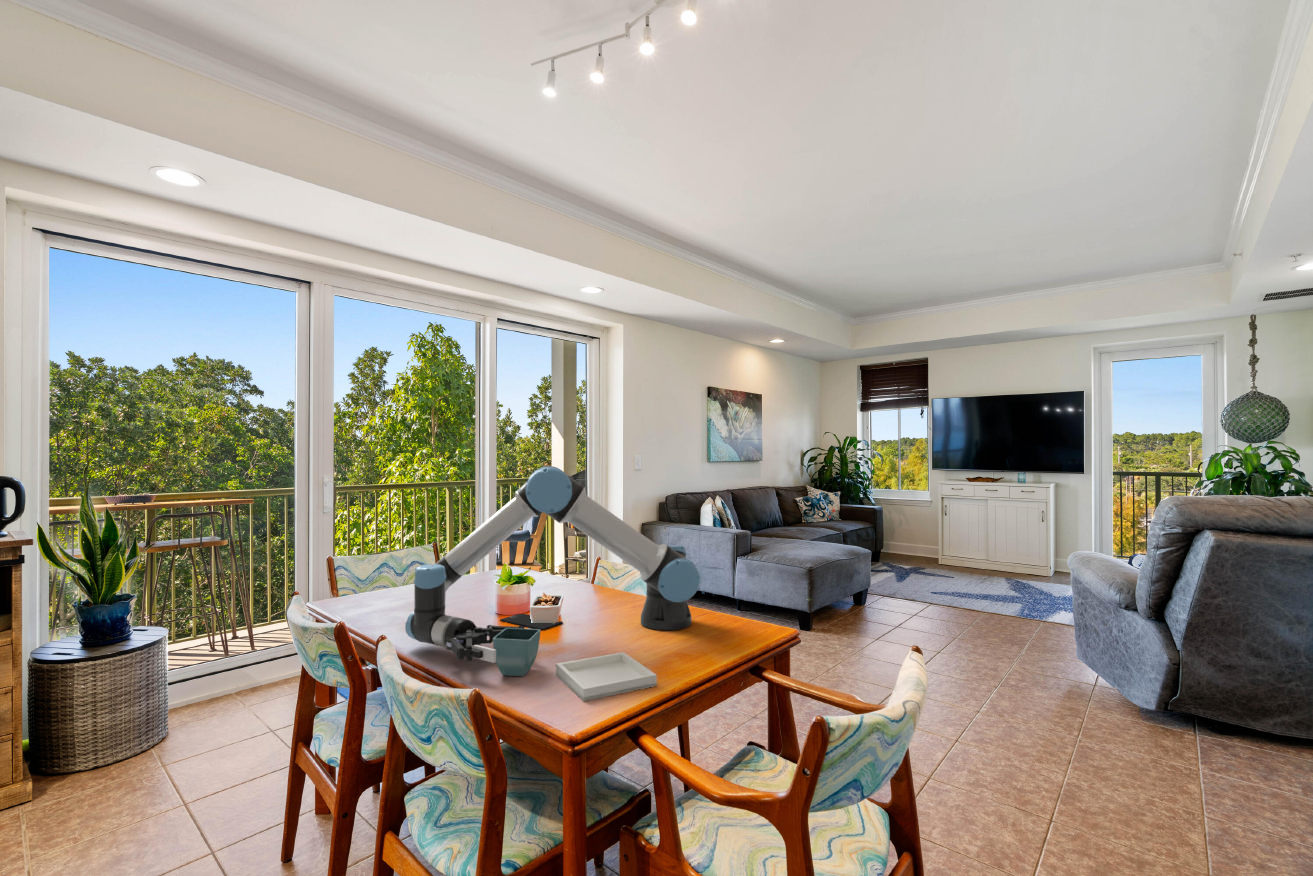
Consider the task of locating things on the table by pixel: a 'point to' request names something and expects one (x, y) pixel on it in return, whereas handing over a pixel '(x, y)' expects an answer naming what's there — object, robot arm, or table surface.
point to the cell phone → (529, 622)
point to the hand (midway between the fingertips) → (517, 647)
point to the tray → (605, 676)
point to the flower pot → (516, 650)
